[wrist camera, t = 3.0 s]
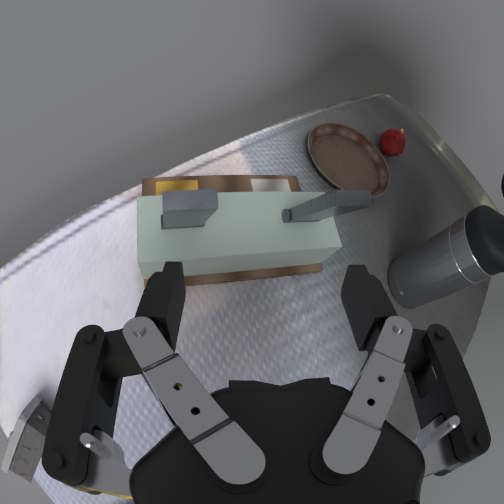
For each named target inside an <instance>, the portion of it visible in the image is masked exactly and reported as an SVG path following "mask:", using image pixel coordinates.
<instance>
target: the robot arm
mask: <svg viewBox="0 0 504 504" xmlns="http://www.w3.org/2000/svg"><path fill="white" fill-rule="evenodd" d="M501 188H502V193H503V196H504V175H503V178H502V187H501ZM500 272H504V216H503V215H501V214H500V213H498V212H497V211H495V210H494V209H492V208H491V207H489V206H486V205H481V206H478V207H476V208H475V209H473V210H472V211H470V212H469V213H468V214H466V215H465V216H463V217H462V218H460V219H459V220H457V221H456V222H454V223H453V224H451V225H450V226H448V227H447V228H445V229H444V230H442V231H441V232H439V233H438V234H436V235H435V236H433V237H431V238H430V239H428V240H427V241H425V242H423V243H422V244H420V245H419V246H417V247H415V248H414V249H412V250H410V251H409V252H407V253H405V254H404V255H402V256H400V257H399V258H397V259H395V260H394V261H393V262H392V264H391V265H390V268H389V273H388V281H389V286H390V289H391V292H392V294H393V296H394V298H395V299H396V300H397V302H399V303H400V304H401V305H402V306H404V307H406V308H415V307H418V306H421V305H424V304H426V303H429V302H432V301H435V300H437V299H440V298H442V297H445V296H447V295H450V294H452V293H455V292H457V291H460V290H462V289H464V288H467V287H469V286H471V285H474V284H476V283H478V282H480V281H482V280H485V279H487V278H489V277H491V276H493V275H495V274H498V273H500ZM185 294H186V288H185V280H184V273H183V265H182V262H173V261H166V262H165V265H164V268H163V271H162V272H154V273H153V274H152V276H151V277H150V278H149V279H148V281H147V284H146V288H145V289H144V292H143V295H142V298H141V300H140V303H139V306H138V309H137V312H136V315H135V317H134V318H133V319H131V320H129V321H128V322H127V323H126V324H125V325H124V327H123V329H120V330H115V331H109V332H104V330H103V329H102V328H101V327H100V326H97V325H88V326H85V327H83V328H82V329H81V330H79V332H78V333H77V335H76V337H75V340H74V342H73V345H72V348H71V351H70V353H69V356H68V359H67V362H66V365H65V368H64V371H63V374H62V378H61V381H60V384H59V387H58V391H57V394H56V398H55V401H54V405H53V409H52V413H51V416H50V421H49V425H48V429H47V433H46V438H45V443H44V448H43V453H42V465H43V468H44V470H45V471H46V473H47V474H48V475H49V476H51V477H52V478H54V479H56V480H58V481H60V482H62V483H63V484H65V485H67V486H70V487H72V488H74V489H77V490H79V491H83V492H87V493H90V494H94V495H97V494H101V493H105V494H110V495H114V496H119V497H124V498H130V499H133V500H134V502H135V504H420V491H421V485H422V481H423V478H424V477H427V476H430V475H433V474H434V475H436V476H443V475H445V474H447V473H449V472H451V471H453V470H455V469H457V468H459V467H461V466H463V465H465V464H466V463H468V462H470V461H472V460H473V459H475V458H477V457H478V456H480V455H482V454H483V453H485V452H486V451H487V450H488V448H489V446H490V441H491V437H490V433H489V429H488V426H487V423H486V420H485V417H484V414H483V411H482V408H481V405H480V403H479V399H478V397H477V394H476V392H475V389H474V386H473V384H472V381H471V379H470V376H469V374H468V372H467V369H466V367H465V365H464V362H463V360H462V357H461V355H460V353H459V351H458V349H457V346H456V344H455V342H454V340H453V338H452V336H451V334H450V332H449V331H448V329H447V328H445V327H444V326H442V325H440V324H432V325H430V326H429V327H428V329H427V331H424V330H418V329H414V328H412V326H411V324H410V323H409V322H408V321H407V320H406V319H404V318H402V317H399V316H398V315H397V313H396V311H395V309H394V307H393V305H392V303H391V301H390V299H389V297H388V296H387V293H386V291H385V290H384V288H383V286H382V284H381V282H380V281H379V280H378V279H377V278H376V277H375V276H374V275H370V274H369V272H368V270H367V269H366V267H365V265H349V266H348V268H347V272H346V275H345V279H344V282H343V285H342V289H341V299H342V303H343V305H344V308H345V311H346V314H347V317H348V320H349V323H350V326H351V329H352V332H353V335H354V338H355V341H356V344H357V347H358V350H359V351H365V350H367V351H368V356H367V357H366V359H365V362H364V364H363V366H362V368H361V370H360V372H359V374H358V376H357V378H356V380H355V381H354V383H353V385H352V387H351V389H350V390H347V389H345V388H343V387H341V386H338V385H334V384H331V383H330V379H329V377H325V378H311V379H304V380H300V381H297V382H293V383H290V384H286V385H282V386H279V385H274V384H268V383H263V382H259V381H236V380H229V387H227V388H223V389H220V390H217V391H215V392H212V393H211V394H209V393H208V391H207V390H206V389H205V388H204V386H203V385H202V384H201V383H200V381H199V380H198V379H197V377H196V376H195V375H194V373H193V372H192V371H191V369H190V368H189V367H188V365H187V364H186V363H185V361H184V360H183V359H182V357H181V356H180V355H179V354H178V353H176V354H175V348H176V343H177V337H178V332H179V327H180V322H181V316H182V311H183V307H184V302H185ZM432 367H433V368H434V371H435V373H436V376H437V380H436V377H435V375H434V372H433V369H432ZM403 371H404V372H405V374H406V377H407V381H408V384H409V387H410V391H411V394H412V397H413V401H414V405H415V408H416V412H417V416H418V420H419V424H420V428H421V431H420V432H419V434H418V437H417V444H414V443H413V442H412V441H411V440H410V439H408V438H407V437H406V436H405V435H403V434H402V433H401V432H400V431H398V430H397V429H396V428H395V427H393V426H392V425H391V424H390V423H389V422H387V421H386V420H385V418H386V416H387V413H388V411H389V408H390V406H391V404H392V401H393V398H394V396H395V393H396V391H397V388H398V385H399V382H400V380H401V377H402V374H403ZM138 374H142V376H143V378H144V380H145V381H146V383H147V385H148V386H149V388H150V390H151V391H152V393H153V395H154V396H155V398H156V400H157V401H158V403H159V404H160V406H161V408H162V410H163V411H164V413H165V414H166V416H167V418H168V419H169V421H170V422H171V424H172V425H173V426H174V428H173V429H172V430H171V431H170V432H169V433H168V434H167V435H166V436H165V437H164V438H163V439H161V440H160V441H159V442H158V443H157V444H156V445H155V446H154V447H153V448H152V449H151V450H150V451H149V452H148V453H146V454H145V455H144V456H143V457H142V458H141V459H140V460H139V461H138V462H137V463H136V464H135V466H134V467H133V469H132V470H131V469H128V467H127V466H126V464H125V461H124V453H123V450H122V448H121V447H120V445H119V444H118V443H116V442H115V441H114V440H113V433H114V426H115V419H116V413H117V407H118V401H119V395H120V390H121V384H122V379H123V377H127V376H132V375H138Z"/></svg>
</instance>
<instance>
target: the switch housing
mask: <svg viewBox="0 0 504 504" xmlns="http://www.w3.org/2000/svg"><path fill="white" fill-rule="evenodd" d="M323 194H325V192H218V209H217V210H216V211H215V212H214V213H213V214H212V215H211V216H210V217H209V218H208V219H207V221H206V222H205V225H204V227H195V228H179V229H165V230H161V215H163V207H162V195H156V196H142V197H137V247H138V264H139V267H140V270H141V272H142V275H143V278H144V279H149V278H150V277H151V276H152V274H153V273H154V272H162V271H163V268H164V265H165V262H166V261H173V262H182V265H183V273H184V276H193V275H204V274H215V273H226V272H237V271H248V270H258V269H269V268H279V267H289V266H298V265H308V264H317V263H322V262H323V261H324V260H326V259H327V258H328V257H330V256H331V255H332V254H333V253H335V252H336V251H337V250H338V249H340V248H341V247H342V245H341V241H340V238H339V235H338V231H337V228H336V225H335V221H334V218H333V217H330V218H326V219H322V220H321V221H320V222H295V223H284V222H283V220H282V211H283V210H284V209H290V208H292V207H295V206H297V205H299V204H302V203H304V202H306V201H309V200H311V199H314V198H316V197H318V196H321V195H323Z"/></svg>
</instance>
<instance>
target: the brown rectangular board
mask: <svg viewBox="0 0 504 504" xmlns="http://www.w3.org/2000/svg"><path fill="white" fill-rule="evenodd" d="M201 189H217V192H301V189H300V186H299V183H298V180H297V176H276V175H216V176H184V177H163V178H147V179H142V196H156V195H162V191H179V190H201ZM322 270H323V269H322V265H321V263H317V264H308V265H298V266H289V267H279V268H269V269H258V270H248V271H237V272H226V273H215V274H204V275H193V276H184V280H185V286H193V285H204V284H214V283H224V282H234V281H244V280H254V279H263V278H272V277H281V276H290V275H299V274H307V273H316V272H320V271H322ZM147 281H148V279H144V286H145V288H146V284H147Z"/></svg>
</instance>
